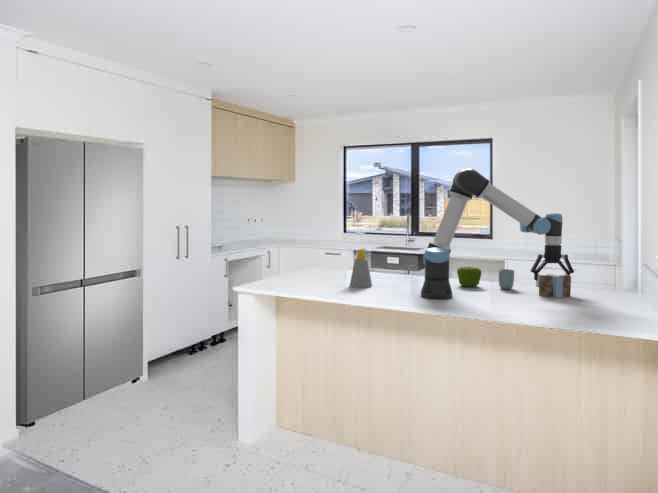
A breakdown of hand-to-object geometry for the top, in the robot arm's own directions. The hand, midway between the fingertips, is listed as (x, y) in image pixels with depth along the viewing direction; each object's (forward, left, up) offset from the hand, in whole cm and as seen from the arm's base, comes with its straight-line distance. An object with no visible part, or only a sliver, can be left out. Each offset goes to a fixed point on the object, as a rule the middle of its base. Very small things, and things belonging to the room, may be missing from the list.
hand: (551, 286), depth 250 cm
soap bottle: (-95, +19, -4) cm, 97 cm away
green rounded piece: (-36, +22, -4) cm, 42 cm away
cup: (-18, +15, -4) cm, 24 cm away
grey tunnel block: (0, -4, -4) cm, 6 cm away
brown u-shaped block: (0, -4, -4) cm, 6 cm away
